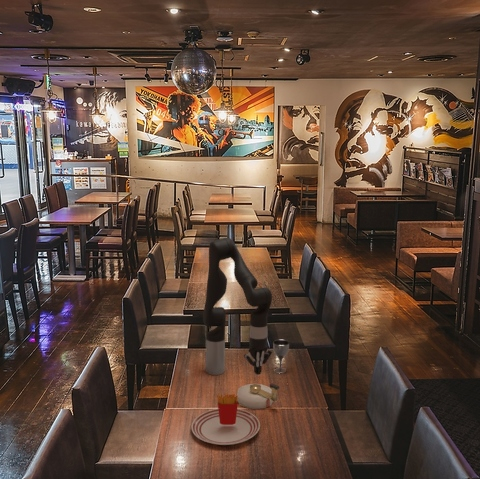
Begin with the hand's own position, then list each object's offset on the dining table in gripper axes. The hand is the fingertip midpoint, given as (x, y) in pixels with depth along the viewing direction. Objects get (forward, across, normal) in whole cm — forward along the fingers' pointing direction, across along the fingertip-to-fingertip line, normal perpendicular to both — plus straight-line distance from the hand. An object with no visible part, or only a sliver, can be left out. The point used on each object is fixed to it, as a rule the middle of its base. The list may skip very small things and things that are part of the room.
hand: (257, 373), depth 226 cm
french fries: (+15, +18, +6) cm, 24 cm away
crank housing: (+18, -5, -9) cm, 20 cm away
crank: (+13, -6, -4) cm, 15 cm away
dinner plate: (+18, +19, +7) cm, 27 cm away
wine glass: (+18, -32, -30) cm, 47 cm away
